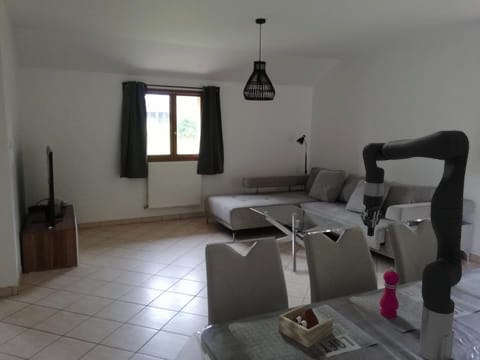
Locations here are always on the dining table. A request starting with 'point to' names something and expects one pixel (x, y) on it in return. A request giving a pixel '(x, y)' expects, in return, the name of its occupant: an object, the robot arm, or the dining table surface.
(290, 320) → the birch holder
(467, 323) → the dining table surface
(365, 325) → the dining table surface
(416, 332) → the dining table surface
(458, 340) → the dining table surface
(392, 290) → the pepper mill
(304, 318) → the poop emoji
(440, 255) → the robot arm
